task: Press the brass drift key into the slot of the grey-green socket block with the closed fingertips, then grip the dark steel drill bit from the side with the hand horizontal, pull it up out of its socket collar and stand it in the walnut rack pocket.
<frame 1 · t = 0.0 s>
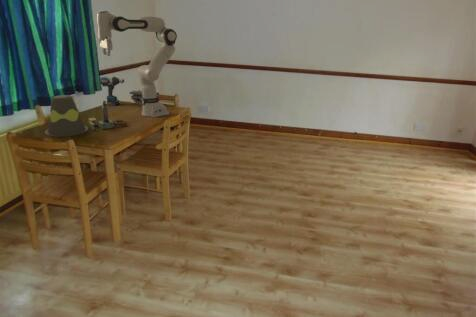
hand: (106, 55, 269), 48 cm above the table, tool pointing down, fingers open, 8 cm apart
dark grey irregular piece: (145, 104, 338), on the table
banded grey frustum: (67, 130, 255), on the table
socket block: (102, 127, 264), on the table
rack: (119, 125, 271), on the table
drill bit: (106, 127, 266), resting in socket block
impact wrench: (114, 104, 332), on the table
drift key: (92, 121, 269), point 2 cm above the table, slide at 0.0 cm
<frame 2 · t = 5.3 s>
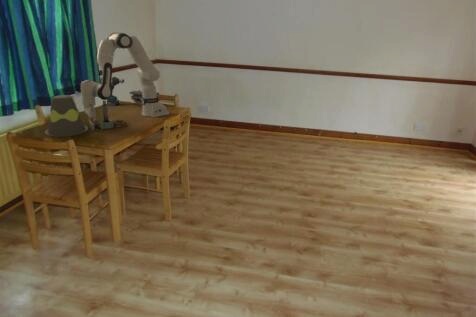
hand: (91, 121, 273), 2 cm above the table, tool pointing down, fingers closed
drift key: (93, 122, 268), point 2 cm above the table, slide at 0.9 cm, touching gripper
everything else where it was.
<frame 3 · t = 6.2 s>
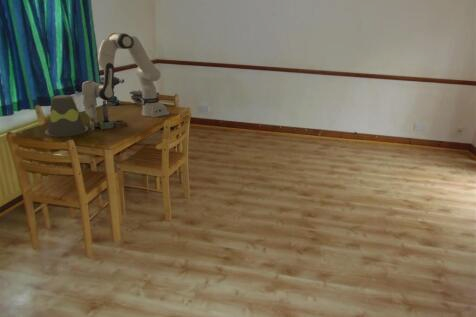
hand: (92, 122, 270), 2 cm above the table, tool pointing down, fingers closed
drift key: (94, 123, 266), point 2 cm above the table, slide at 4.5 cm, touching gripper
everything else where it was.
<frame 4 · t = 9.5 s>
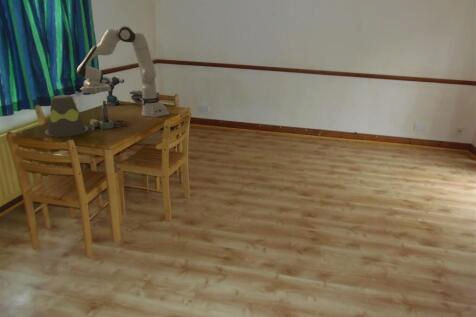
hand: (99, 90, 266), 24 cm above the table, tool horizontal, fingers closed
drift key: (94, 123, 266), point 2 cm above the table, slide at 4.5 cm
everything else where it was.
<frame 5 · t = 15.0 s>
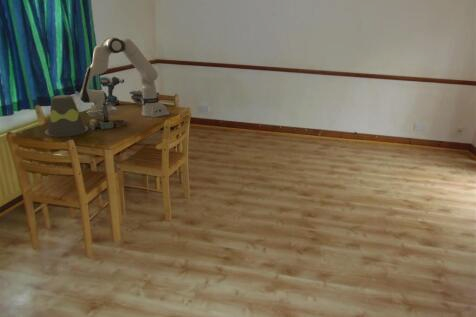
hand: (105, 114, 262), 10 cm above the table, tool horizontal, fingers closed on drill bit, 3 cm apart
drill bit: (106, 127, 266), resting in socket block, touching gripper
everything else where it was.
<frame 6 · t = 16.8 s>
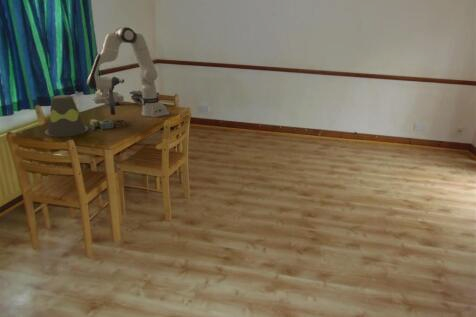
hand: (112, 101, 261), 18 cm above the table, tool horizontal, fingers closed on drill bit, 3 cm apart
drill bit: (113, 114, 265), point 9 cm above the table, touching gripper
everything else where it was.
when the fingers open (11 cm above the table, at t = 18.9 s): drill bit drops 1 cm, resting in rack.
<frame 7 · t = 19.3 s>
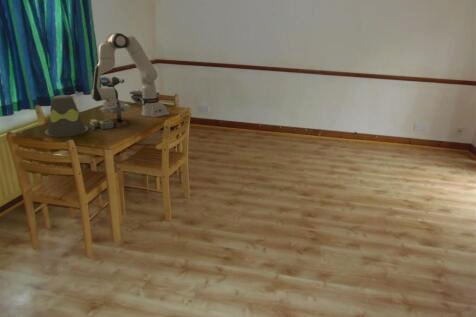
hand: (119, 110, 266), 11 cm above the table, tool horizontal, fingers open, 7 cm apart
drill bit: (119, 125, 271), resting in rack
everything else where it was.
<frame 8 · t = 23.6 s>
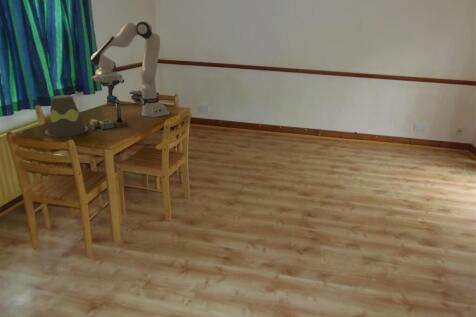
hand: (111, 79, 269), 32 cm above the table, tool horizontal, fingers open, 8 cm apart
nothing on the table moved.
at the end: drill bit 0.0 cm off-centre on the rack, point 0.0 cm above the rack's base; drill bit tilted 0°; drift key slide at 4.5 cm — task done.
